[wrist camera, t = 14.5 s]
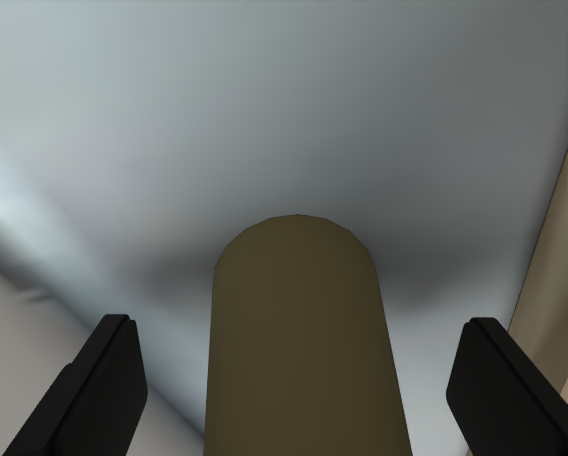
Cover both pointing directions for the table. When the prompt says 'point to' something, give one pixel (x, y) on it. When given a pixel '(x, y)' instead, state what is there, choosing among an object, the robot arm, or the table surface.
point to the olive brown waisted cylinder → (300, 347)
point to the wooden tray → (547, 296)
